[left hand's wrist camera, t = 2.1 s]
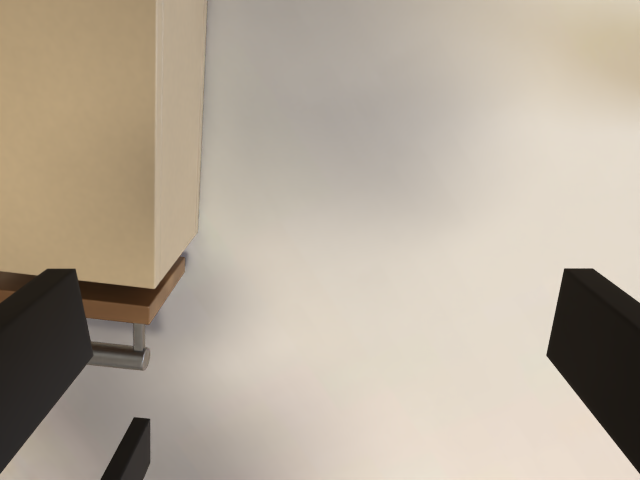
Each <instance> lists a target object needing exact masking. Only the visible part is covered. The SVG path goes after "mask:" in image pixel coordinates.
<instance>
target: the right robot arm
mask: <svg viewBox="0 0 640 480" xmlns="http://www.w3.org/2000/svg"><path fill="white" fill-rule="evenodd" d="M149 464H150V419H146V418H136V417H134V418H133V420H132V422H131V424H130V426H129V428H128V429H127V431H126V433H125V435H124V437H123V439H122V441H121V443H120V444H119V446H118V448H117V450H116V452H115V454H114V456H113V457H112V459H111V461H110V463H109V465H108V467H107V469H106V470H105V472H104V474H103V476H102V478H101V480H143V478H144V476H145V474H146V471H147V469H148V467H149Z"/></svg>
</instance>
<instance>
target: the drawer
mask: <svg viewBox="0 0 640 480" xmlns="http://www.w3.org/2000/svg"><path fill="white" fill-rule="evenodd" d="M184 272H185V257H179V258H178V259H177V260H176V262H175V263H174V264H173V266H172V267H171V268H170V270H169V271H168V272H167V273H166V275H165V276H164V277H163V279H162V280H161V281H160V282H159V284H158V285H157V287H156V288H155V289H150V288H141V287H133V286H124V285H116V284H107V283H98V282H90V281H81V280H78V282H79V287H80V292H81V297H82V302H83V306H84V311H85V316H86V318H93V319H102V320H111V321H120V322H129V323H133V340H134V346H128V345H119V344H110V343H101V342H92V341H91V345H92V350H93V355H94V356H93V357H92V358H91V359H90V361H89V362H88V363H87V365H95V366H105V367H114V368H123V369H133V370H142V371H143V370H145V369H146V368H147V366H148V363H149V359H150V349H149V348H147V347H145V324H146V325H149V324H150V323H151V321H152V320H153V318H154V317H155V315H156V314H157V312H158V311H159V309H160V308H161V306H162V305H163V303H164V302H165V300H166V299H167V297H168V296H169V294H170V293H171V292H172V290H173V289H174V287H175V286H176V284H177V283H178V281H179V280H180V278H181V277H182V275H183V274H184ZM36 276H38V275H29V274H20V273H12V272H3V271H0V303H1V302H2V301H4V300H5V299H6V298H8V297H9V296H10V295H12V294H13V293H15V292H16V291H17V290H19V289H20V288H21V287H23V286H24V285H25V284H27V283H28V282H30V281H31V280H32V279H34V278H35V277H36Z"/></svg>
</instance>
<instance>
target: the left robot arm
mask: <svg viewBox="0 0 640 480" xmlns="http://www.w3.org/2000/svg"><path fill="white" fill-rule="evenodd" d="M93 356H94V355H93V350H92V345H91V340H90V336H89V331H88V326H87V321H86V316H85V311H84V306H83V302H82V297H81V292H80V287H79V282H78V277H77V272H76V269H46V270H45V271H43V272H42V273H40V274H39V275H38V276H36V277H35V278H34V279H32V280H31V281H30V282H28V283H27V284H25V285H24V286H23V287H21V288H20V289H19V290H17V291H16V292H15V293H13V294H12V295H10V296H9V297H8V298H6V299H5V300H4V301H2V302H1V303H0V473H1V472H2V471H3V470H4V468H5V467H6V466H7V465H8V463H9V462H10V461H11V460H12V458H13V457H14V456H15V454H16V453H17V452H18V451H19V449H20V448H21V447H22V446H23V444H24V443H25V442H26V441H27V439H28V438H29V437H30V435H31V434H32V433H33V432H34V430H35V429H36V428H37V427H38V425H39V424H40V423H41V422H42V420H43V419H44V418H45V416H46V415H47V414H48V413H49V411H50V410H51V409H52V408H53V406H54V405H55V404H56V403H57V401H58V400H59V399H60V397H61V396H62V395H63V394H64V392H65V391H66V390H67V389H68V387H69V386H70V385H71V384H72V382H73V381H74V380H75V378H76V377H77V376H78V375H79V373H80V372H81V371H82V370H83V368H84V367H85V366H86V365H87V363H88V362H89V361H90V359H91V358H92V357H93ZM546 356H547V357H548V358H549V359H550V361H551V362H552V363H553V365H554V366H555V367H556V368H557V370H558V371H559V372H560V373H561V375H562V376H563V377H564V378H565V380H566V381H567V382H568V384H569V385H570V386H571V387H572V389H573V390H574V391H575V392H576V394H577V395H578V396H579V397H580V399H581V400H582V401H583V403H584V404H585V405H586V406H587V408H588V409H589V410H590V411H591V413H592V414H593V415H594V416H595V418H596V419H597V420H598V422H599V423H600V424H601V425H602V427H603V428H604V429H605V430H606V432H607V433H608V434H609V435H610V437H611V438H612V439H613V441H614V442H615V443H616V444H617V446H618V447H619V448H620V449H621V451H622V452H623V453H624V454H625V456H626V457H627V458H628V460H629V461H630V462H631V463H632V465H633V466H634V467H635V468H636V470H637V471H638V472H639V473H640V303H639V302H638V301H636V300H635V299H634V298H632V297H631V296H630V295H628V294H627V293H625V292H624V291H623V290H621V289H620V288H619V287H617V286H616V285H615V284H613V283H612V282H610V281H609V280H608V279H606V278H605V277H604V276H602V275H601V274H600V273H598V272H597V271H595V270H594V269H564V272H563V277H562V282H561V287H560V292H559V297H558V302H557V306H556V311H555V316H554V321H553V326H552V331H551V336H550V340H549V345H548V350H547V355H546Z"/></svg>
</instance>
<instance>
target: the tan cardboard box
mask: <svg viewBox="0 0 640 480" xmlns="http://www.w3.org/2000/svg"><path fill="white" fill-rule="evenodd" d="M206 21H207V0H0V271H3V272H12V273H20V274H29V275H39V274H40V273H42V272H43V271H45V270H46V269H76V272H77V277H78V280H81V281H90V282H98V283H107V284H116V285H124V286H133V287H141V288H150V289H155V288H156V287H157V285H158V284H159V282H160V281H161V280H162V279H163V277H164V276H165V275H166V273H167V272H168V271H169V270H170V268H171V267H172V266H173V264H174V263H175V262H176V260H177V259H178V258H179V256H180V255H181V254H182V252H183V251H184V250H185V248H186V247H187V246H188V244H189V243H190V242H191V240H192V239H193V238H194V236H195V235H196V234H197V233H198V215H199V190H200V166H201V142H202V118H203V94H204V69H205V45H206Z"/></svg>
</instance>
